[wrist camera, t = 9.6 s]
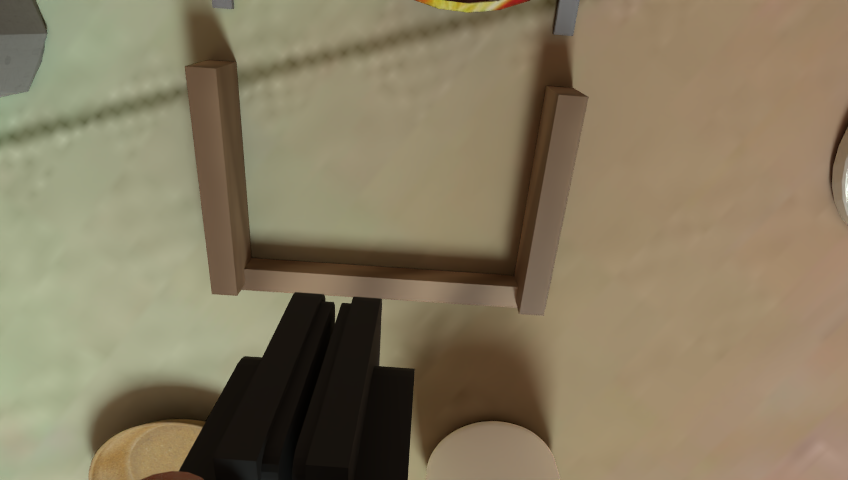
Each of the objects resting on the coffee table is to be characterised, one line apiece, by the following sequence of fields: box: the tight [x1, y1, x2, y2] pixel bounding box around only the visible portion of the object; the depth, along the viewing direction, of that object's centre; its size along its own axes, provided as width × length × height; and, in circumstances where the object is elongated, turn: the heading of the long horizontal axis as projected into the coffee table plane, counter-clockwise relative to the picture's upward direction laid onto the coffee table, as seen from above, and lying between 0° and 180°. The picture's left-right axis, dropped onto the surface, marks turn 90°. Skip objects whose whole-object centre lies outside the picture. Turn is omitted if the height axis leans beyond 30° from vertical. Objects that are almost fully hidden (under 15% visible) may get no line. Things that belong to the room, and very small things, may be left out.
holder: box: [185, 60, 588, 316], centre depth 30 cm, size 20×14×3 cm
